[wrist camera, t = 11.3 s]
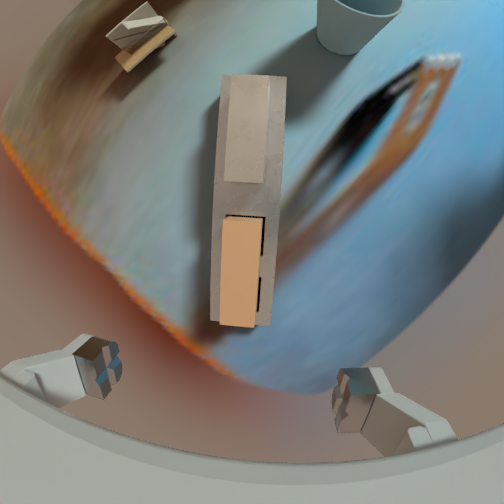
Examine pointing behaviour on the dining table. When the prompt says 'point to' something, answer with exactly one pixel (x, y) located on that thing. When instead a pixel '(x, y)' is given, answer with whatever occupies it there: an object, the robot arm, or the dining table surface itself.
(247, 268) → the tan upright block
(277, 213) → the rail
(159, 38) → the architectural model
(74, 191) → the dining table surface
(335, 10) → the cup
